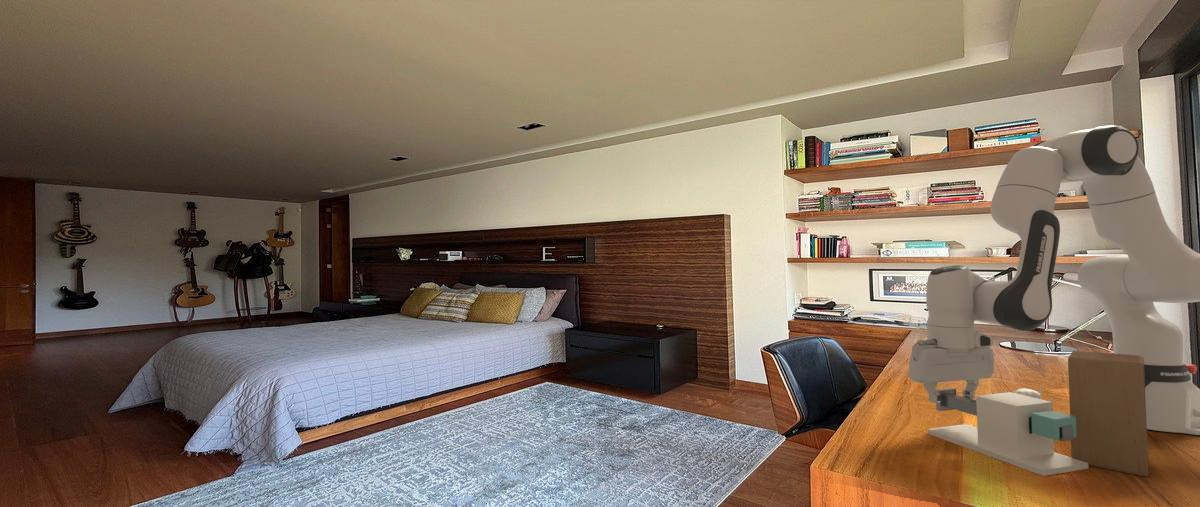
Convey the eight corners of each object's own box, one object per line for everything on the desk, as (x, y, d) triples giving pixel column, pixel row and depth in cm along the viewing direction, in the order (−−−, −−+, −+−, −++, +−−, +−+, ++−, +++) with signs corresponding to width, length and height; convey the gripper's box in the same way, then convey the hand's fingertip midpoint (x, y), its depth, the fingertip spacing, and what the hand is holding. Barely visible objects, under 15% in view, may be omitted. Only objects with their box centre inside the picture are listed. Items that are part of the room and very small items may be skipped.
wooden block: (1147, 461, 97) (1143, 355, 98) (1148, 478, 90) (1144, 363, 91) (1075, 448, 104) (1071, 349, 105) (1071, 462, 98) (1067, 357, 98)
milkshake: (1051, 433, 114) (1049, 388, 114) (1023, 432, 115) (1022, 387, 115) (1038, 426, 118) (1036, 383, 118) (1011, 425, 119) (1010, 382, 119)
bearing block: (966, 428, 118) (964, 380, 118) (1088, 468, 95) (1086, 408, 95) (927, 433, 115) (925, 384, 116) (1043, 475, 92) (1040, 414, 92)
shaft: (952, 408, 118) (952, 387, 118) (1077, 445, 94) (1076, 419, 94) (936, 410, 117) (935, 389, 117) (1058, 447, 92) (1057, 422, 93)
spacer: (1052, 430, 98) (1051, 410, 98) (1076, 437, 94) (1075, 416, 94) (1032, 432, 97) (1031, 413, 97) (1055, 440, 93) (1054, 419, 93)
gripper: (924, 342, 110) (926, 407, 110) (999, 338, 115) (1001, 400, 115) (900, 338, 116) (902, 400, 116) (972, 334, 121) (974, 393, 121)
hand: (951, 400), depth 115 cm, fingers open, 8 cm apart
